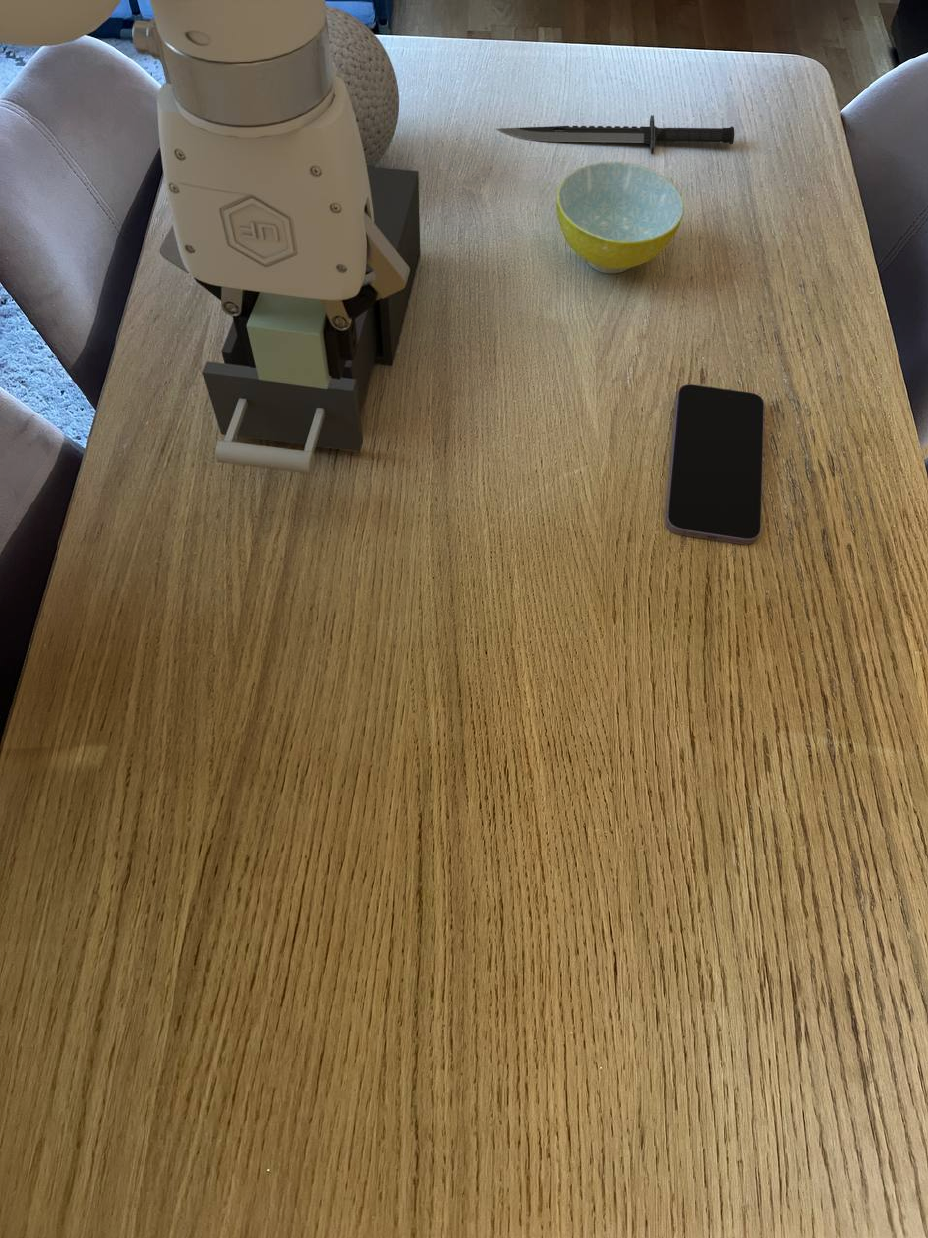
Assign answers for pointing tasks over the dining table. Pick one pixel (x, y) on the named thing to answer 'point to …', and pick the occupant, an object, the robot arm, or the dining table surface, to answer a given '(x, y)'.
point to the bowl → (618, 214)
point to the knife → (622, 134)
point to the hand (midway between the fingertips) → (300, 355)
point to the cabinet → (396, 245)
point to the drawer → (289, 405)
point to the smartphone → (716, 465)
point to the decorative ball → (365, 81)
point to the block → (289, 340)
